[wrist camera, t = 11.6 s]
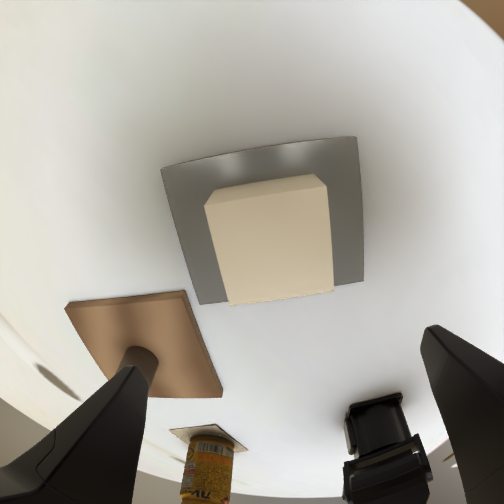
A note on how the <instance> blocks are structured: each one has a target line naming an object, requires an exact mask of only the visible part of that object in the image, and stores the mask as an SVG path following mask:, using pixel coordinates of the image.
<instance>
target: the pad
mask: <svg viewBox="0 0 504 504" xmlns="http://www.w3.org/2000/svg"><path fill="white" fill-rule="evenodd" d="M160 170H161V174H162V178H163V182H164V186H165V190H166V194H167V197H168V201H169V205H170V209H171V212H172V216H173V220H174V223H175V227H176V230H177V234H178V237H179V241H180V244H181V247H182V251H183V254H184V257H185V261H186V264H187V267H188V270H189V274H190V277H191V280H192V283H193V286H194V289H195V292H196V295H197V298H198V301H199V304H200V305H202V304H211V303H220V302H228V298H227V294H226V290H225V287H224V283H223V279H222V275H221V272H220V268H219V264H218V260H217V256H216V252H215V248H214V245H213V241H212V237H211V233H210V229H209V225H208V220H207V216H206V212H205V208H204V205H205V203H206V202H207V200H208V199H209V197H210V196H211V194H212V193H213V191H214V190H216V189H221V188H226V187H232V186H237V185H243V184H249V183H254V182H260V181H267V180H273V179H280V178H286V177H293V176H300V175H308V174H315V175H316V176H317V177H318V178H319V179H320V180H321V181H322V182H323V183H324V184H325V185H326V186H327V195H328V205H329V216H330V228H331V242H332V257H333V277H334V286H338V285H344V284H350V283H355V282H361V281H364V234H363V207H362V190H361V177H360V165H359V155H358V146H357V137H355V136H351V137H339V138H328V139H319V140H310V141H302V142H294V143H286V144H279V145H273V146H266V147H260V148H254V149H248V150H243V151H237V152H232V153H227V154H222V155H217V156H212V157H207V158H203V159H198V160H194V161H189V162H185V163H181V164H177V165H173V166H169V167H165V168H162V169H160Z"/></svg>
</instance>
